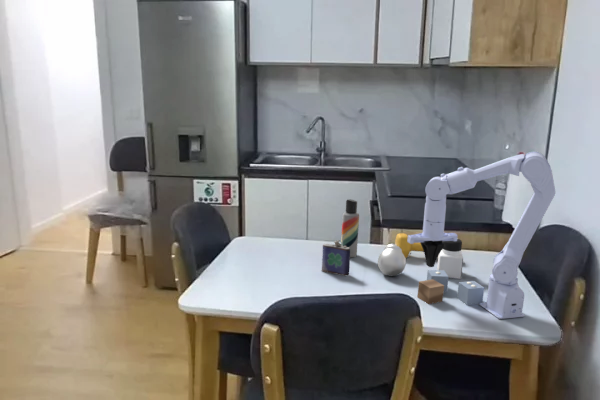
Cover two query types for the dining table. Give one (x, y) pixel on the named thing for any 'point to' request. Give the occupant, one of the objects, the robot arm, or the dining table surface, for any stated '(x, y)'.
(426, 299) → the walnut block
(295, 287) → the dining table surface
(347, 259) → the flask
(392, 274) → the silver round ornament
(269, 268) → the dining table surface
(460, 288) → the dotted block
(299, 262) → the dining table surface
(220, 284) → the dining table surface
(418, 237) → the robot arm
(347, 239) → the lotion bottle
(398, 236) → the dumbbell
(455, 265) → the medicine bottle
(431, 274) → the dotted block
